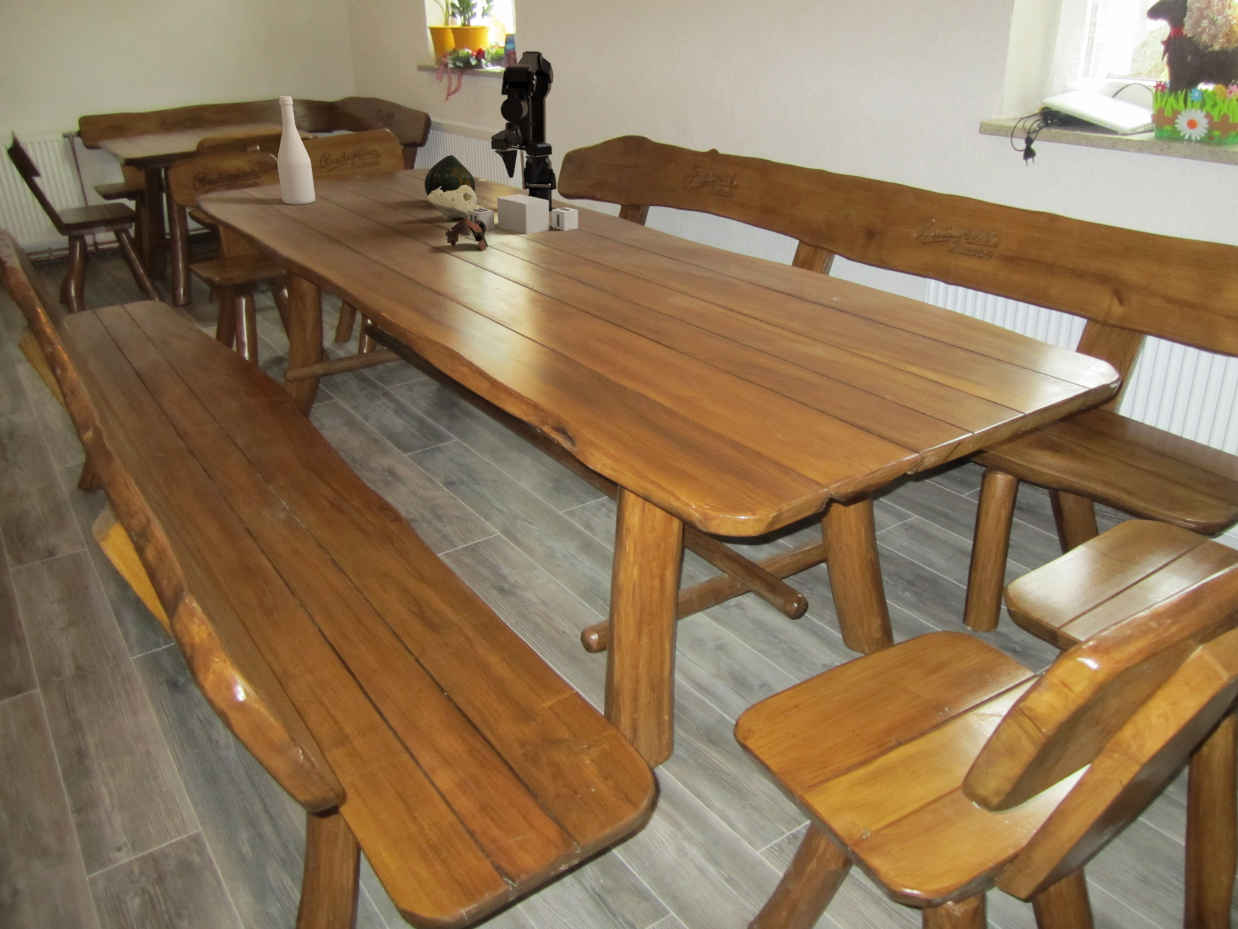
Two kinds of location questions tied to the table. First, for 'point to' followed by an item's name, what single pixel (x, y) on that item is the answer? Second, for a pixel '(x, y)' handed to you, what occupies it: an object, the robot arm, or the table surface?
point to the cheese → (454, 202)
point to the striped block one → (565, 218)
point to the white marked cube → (482, 217)
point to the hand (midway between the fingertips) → (522, 179)
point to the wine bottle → (293, 161)
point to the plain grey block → (523, 213)
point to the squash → (448, 176)
